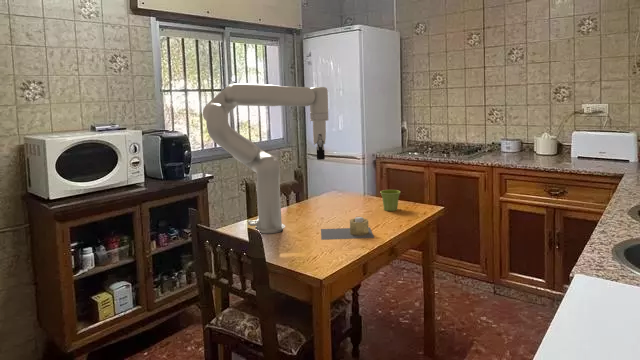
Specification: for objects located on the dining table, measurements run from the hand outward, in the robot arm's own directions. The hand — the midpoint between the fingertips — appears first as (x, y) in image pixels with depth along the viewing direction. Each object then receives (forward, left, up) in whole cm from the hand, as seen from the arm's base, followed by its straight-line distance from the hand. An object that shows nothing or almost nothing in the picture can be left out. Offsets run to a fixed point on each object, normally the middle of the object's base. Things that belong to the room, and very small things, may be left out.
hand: (320, 157), depth 214 cm
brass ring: (+14, -21, -27) cm, 37 cm away
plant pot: (+32, +18, -29) cm, 47 cm away
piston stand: (+9, -21, -28) cm, 36 cm away
